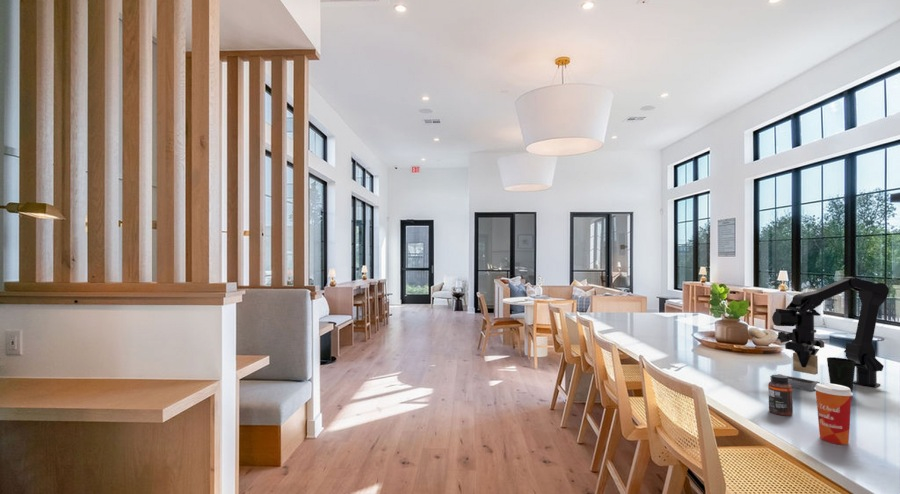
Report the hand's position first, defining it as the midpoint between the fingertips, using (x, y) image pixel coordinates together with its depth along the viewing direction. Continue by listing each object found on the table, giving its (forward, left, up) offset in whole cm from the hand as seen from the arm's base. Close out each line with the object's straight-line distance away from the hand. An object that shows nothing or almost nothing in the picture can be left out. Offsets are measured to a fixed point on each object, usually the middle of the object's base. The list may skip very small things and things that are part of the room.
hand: (805, 366), depth 171 cm
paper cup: (+62, +29, -6) cm, 69 cm away
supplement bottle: (+50, +12, -6) cm, 52 cm away
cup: (+7, +13, -6) cm, 16 cm away
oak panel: (0, 0, -2) cm, 2 cm away
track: (+9, 0, -6) cm, 11 cm away
